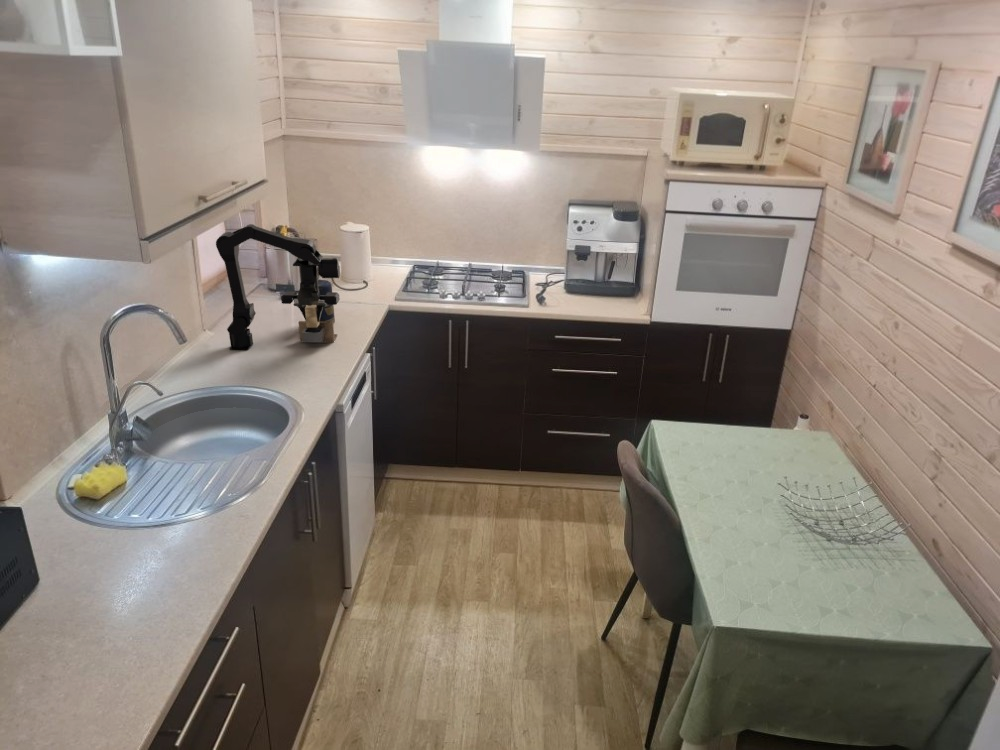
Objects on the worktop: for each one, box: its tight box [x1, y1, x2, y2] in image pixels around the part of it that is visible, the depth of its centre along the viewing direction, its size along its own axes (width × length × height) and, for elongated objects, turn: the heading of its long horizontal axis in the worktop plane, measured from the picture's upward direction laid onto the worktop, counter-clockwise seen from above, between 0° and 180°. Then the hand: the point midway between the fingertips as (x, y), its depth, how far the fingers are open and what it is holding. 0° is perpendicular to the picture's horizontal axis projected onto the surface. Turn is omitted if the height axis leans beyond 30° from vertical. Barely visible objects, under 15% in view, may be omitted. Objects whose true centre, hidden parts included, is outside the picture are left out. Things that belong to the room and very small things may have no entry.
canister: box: [313, 278, 336, 325], centre depth 263 cm, size 10×10×18 cm
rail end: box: [305, 305, 319, 328], centre depth 243 cm, size 4×4×7 cm
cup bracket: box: [298, 320, 338, 343], centre depth 249 cm, size 12×13×8 cm
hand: (312, 321), depth 244 cm, fingers closed on rail end, 4 cm apart
